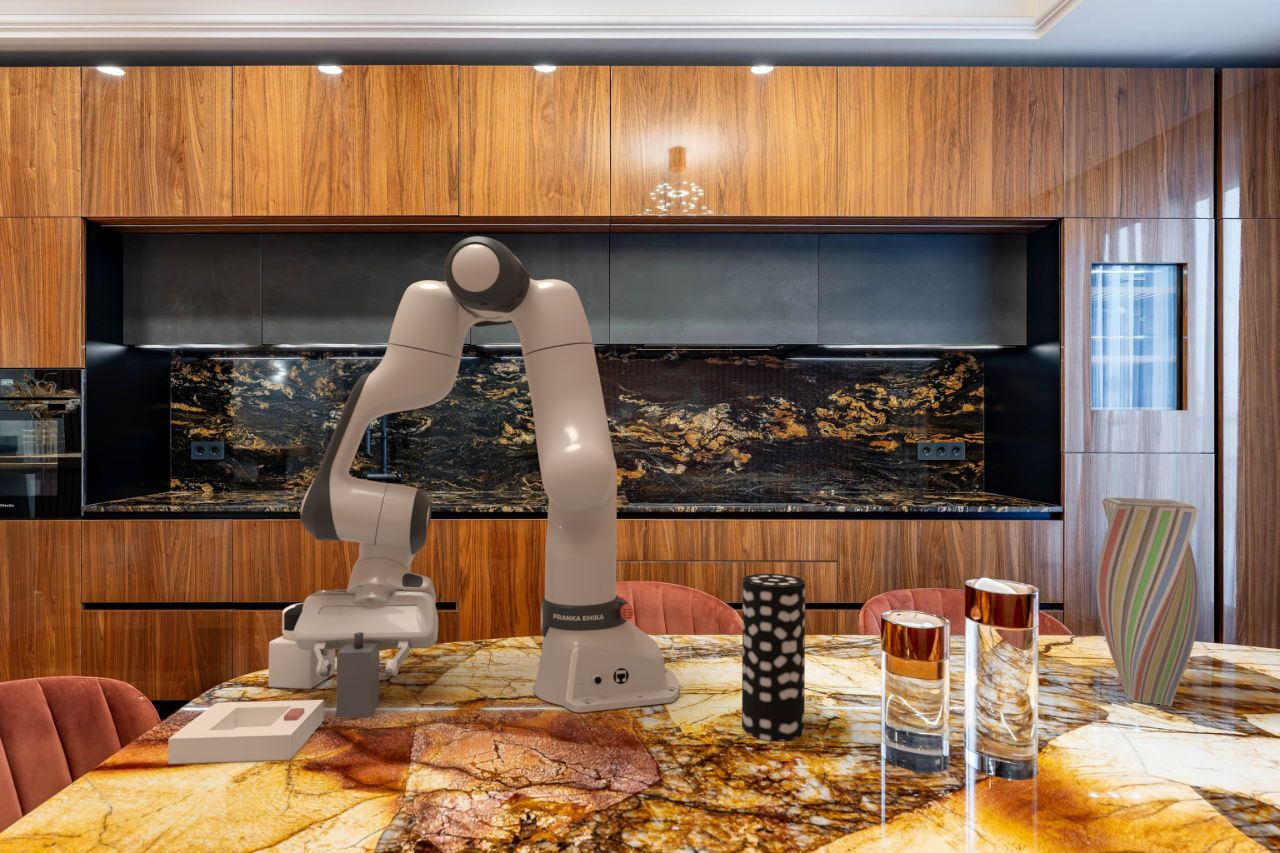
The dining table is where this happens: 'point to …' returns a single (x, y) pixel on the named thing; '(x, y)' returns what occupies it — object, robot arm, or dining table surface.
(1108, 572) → the vase
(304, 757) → the dining table surface
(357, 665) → the plug
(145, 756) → the dining table surface
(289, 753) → the socket
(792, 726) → the white-spotted black cylinder
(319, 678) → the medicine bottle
